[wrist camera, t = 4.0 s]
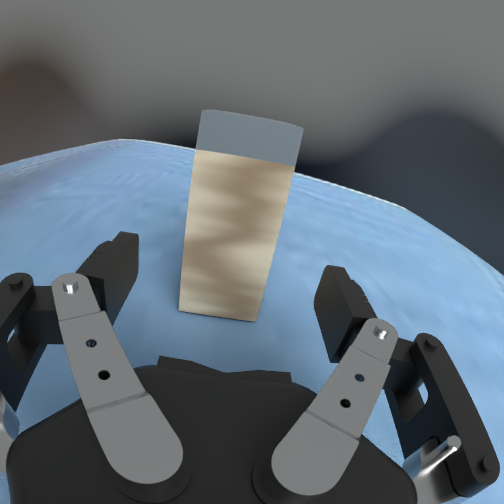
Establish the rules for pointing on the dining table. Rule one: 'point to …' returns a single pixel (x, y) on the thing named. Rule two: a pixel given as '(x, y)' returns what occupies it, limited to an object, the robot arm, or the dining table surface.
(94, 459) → the robot arm
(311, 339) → the dining table surface
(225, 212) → the maple block
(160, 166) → the dining table surface
